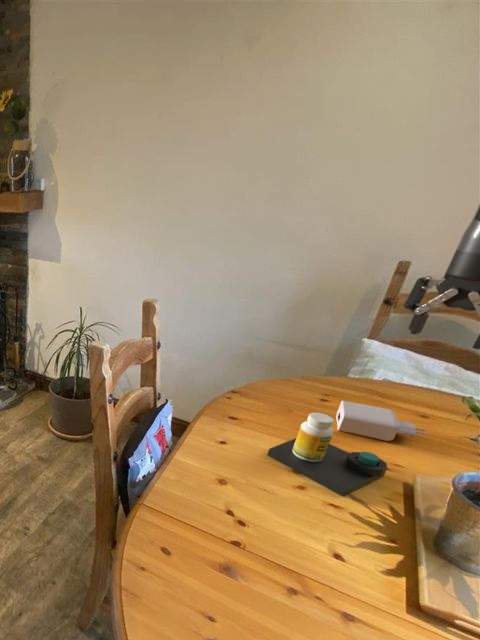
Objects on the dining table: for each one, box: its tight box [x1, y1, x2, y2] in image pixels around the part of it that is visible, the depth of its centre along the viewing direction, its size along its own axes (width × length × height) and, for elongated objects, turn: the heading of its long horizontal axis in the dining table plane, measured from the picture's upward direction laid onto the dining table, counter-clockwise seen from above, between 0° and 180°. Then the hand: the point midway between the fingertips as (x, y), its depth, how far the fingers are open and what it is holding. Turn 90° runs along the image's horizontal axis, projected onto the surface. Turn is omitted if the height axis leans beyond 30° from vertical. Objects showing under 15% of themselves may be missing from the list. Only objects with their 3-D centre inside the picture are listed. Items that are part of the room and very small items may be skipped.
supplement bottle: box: [293, 412, 335, 462], centre depth 87 cm, size 5×5×10 cm
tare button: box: [357, 451, 380, 466], centre depth 84 cm, size 3×3×2 cm
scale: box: [266, 437, 388, 498], centre depth 88 cm, size 15×13×4 cm
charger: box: [335, 400, 428, 442], centre depth 97 cm, size 5×9×15 cm
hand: (445, 340), depth 76 cm, fingers open, 8 cm apart
